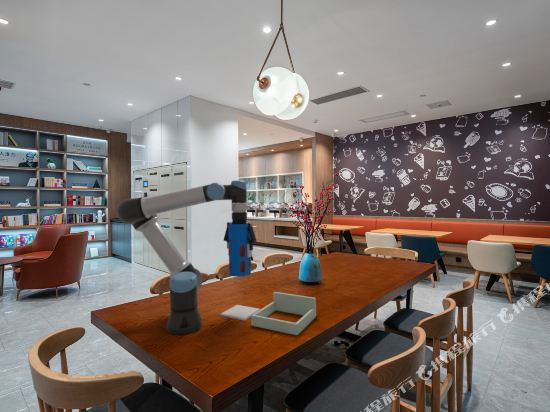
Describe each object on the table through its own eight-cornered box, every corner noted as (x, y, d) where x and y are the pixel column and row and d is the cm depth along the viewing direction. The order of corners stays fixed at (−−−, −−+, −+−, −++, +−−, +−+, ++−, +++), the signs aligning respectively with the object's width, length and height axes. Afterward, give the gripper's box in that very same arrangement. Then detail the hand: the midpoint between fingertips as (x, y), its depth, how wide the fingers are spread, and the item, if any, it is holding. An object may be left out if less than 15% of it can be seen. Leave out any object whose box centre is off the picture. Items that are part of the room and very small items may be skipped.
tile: (244, 320, 139) (244, 318, 139) (220, 315, 145) (220, 313, 145) (259, 310, 151) (259, 308, 151) (237, 306, 158) (237, 304, 158)
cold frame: (297, 335, 123) (297, 313, 123) (251, 325, 133) (251, 305, 133) (316, 316, 143) (315, 297, 142) (274, 309, 153) (274, 291, 153)
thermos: (254, 272, 152) (253, 223, 151) (246, 277, 141) (245, 224, 141) (234, 270, 155) (233, 222, 154) (225, 275, 144) (224, 224, 144)
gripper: (263, 211, 145) (263, 256, 146) (225, 211, 156) (225, 253, 157) (255, 212, 139) (255, 259, 139) (215, 211, 150) (216, 255, 150)
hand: (239, 256), depth 148 cm, fingers closed on thermos, 11 cm apart
